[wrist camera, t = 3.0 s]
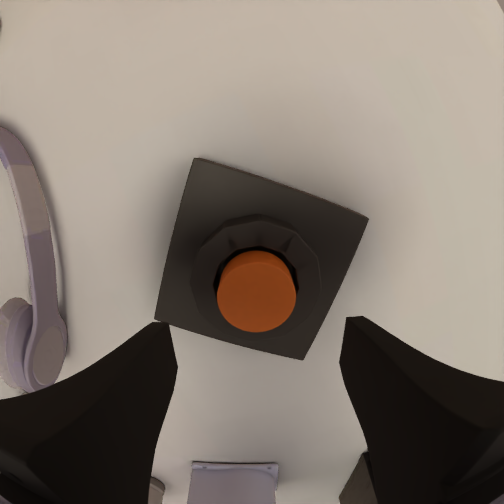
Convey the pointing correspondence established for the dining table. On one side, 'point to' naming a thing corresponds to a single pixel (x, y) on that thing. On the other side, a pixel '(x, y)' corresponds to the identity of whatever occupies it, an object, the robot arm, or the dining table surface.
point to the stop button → (256, 292)
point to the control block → (254, 239)
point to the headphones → (42, 285)
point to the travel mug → (155, 491)
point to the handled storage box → (360, 484)
